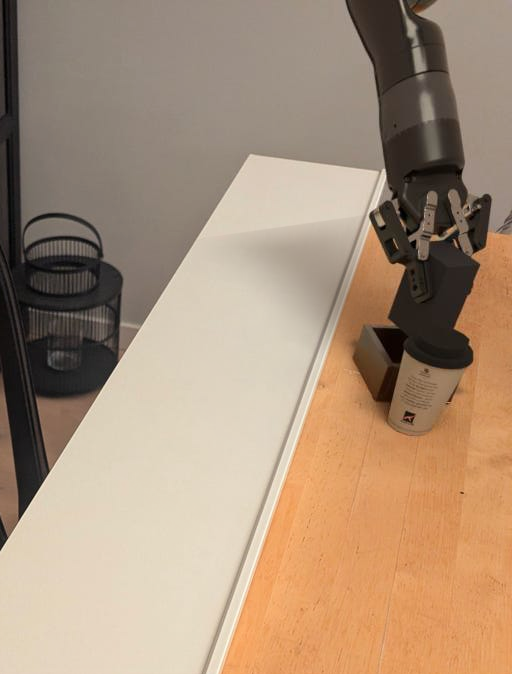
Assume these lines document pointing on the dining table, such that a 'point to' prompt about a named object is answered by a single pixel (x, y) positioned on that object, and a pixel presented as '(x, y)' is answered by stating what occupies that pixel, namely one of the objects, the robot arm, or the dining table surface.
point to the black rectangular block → (436, 291)
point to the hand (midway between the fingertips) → (444, 298)
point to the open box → (381, 359)
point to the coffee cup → (428, 378)
